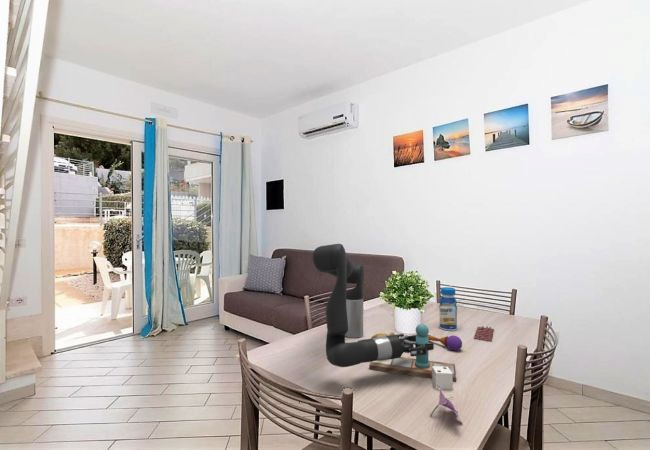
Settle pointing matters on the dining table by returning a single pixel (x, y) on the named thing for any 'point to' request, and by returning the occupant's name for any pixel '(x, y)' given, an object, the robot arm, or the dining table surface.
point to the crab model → (381, 335)
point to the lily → (445, 402)
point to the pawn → (420, 339)
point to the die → (442, 377)
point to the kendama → (449, 342)
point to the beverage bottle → (448, 309)
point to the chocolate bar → (484, 334)
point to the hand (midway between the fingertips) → (425, 341)
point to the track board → (409, 367)
